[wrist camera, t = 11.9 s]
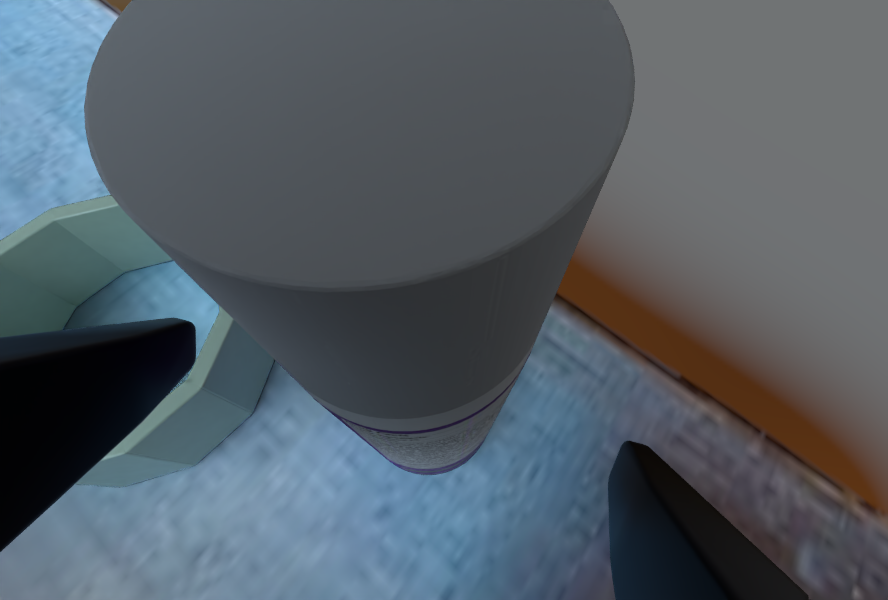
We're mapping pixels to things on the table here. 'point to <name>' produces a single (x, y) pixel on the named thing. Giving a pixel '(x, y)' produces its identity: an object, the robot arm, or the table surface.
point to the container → (370, 185)
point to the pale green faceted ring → (85, 273)
